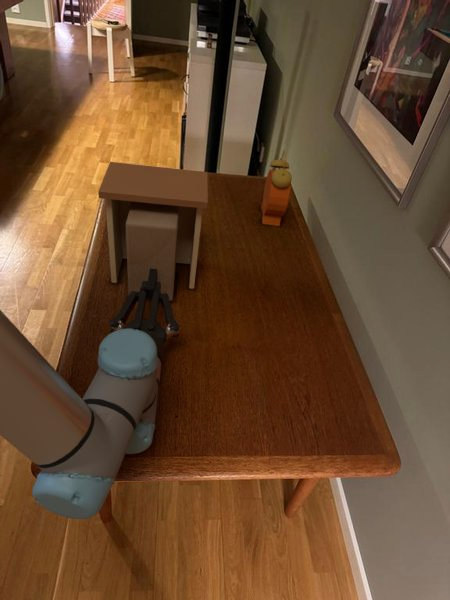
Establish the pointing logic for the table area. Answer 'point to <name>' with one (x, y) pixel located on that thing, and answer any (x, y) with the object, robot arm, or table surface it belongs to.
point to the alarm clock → (276, 192)
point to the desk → (158, 190)
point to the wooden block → (152, 244)
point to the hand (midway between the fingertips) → (153, 273)
